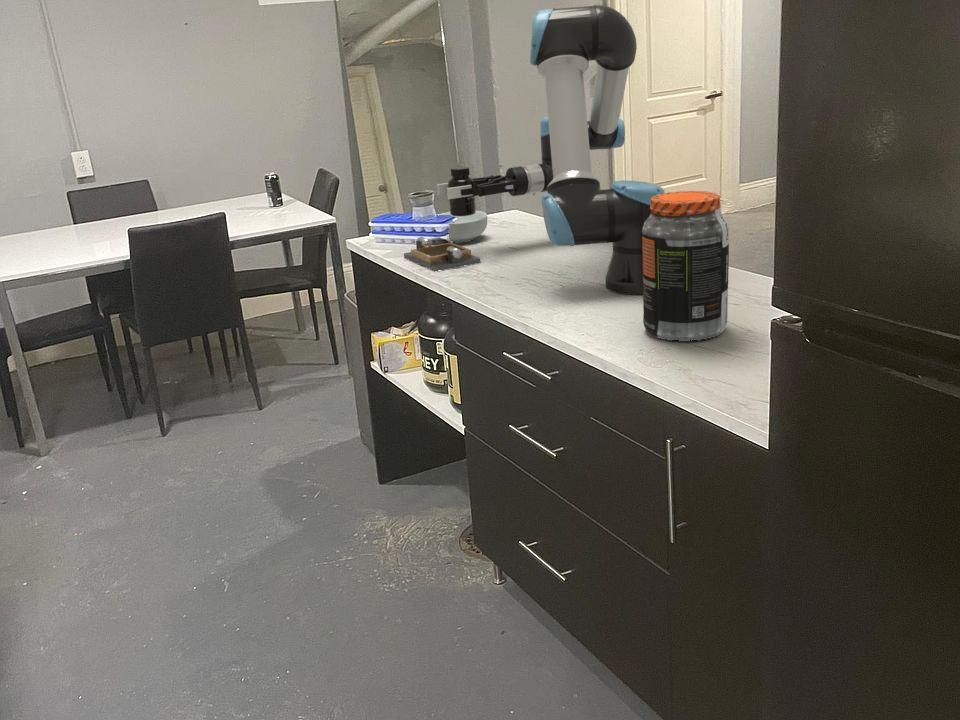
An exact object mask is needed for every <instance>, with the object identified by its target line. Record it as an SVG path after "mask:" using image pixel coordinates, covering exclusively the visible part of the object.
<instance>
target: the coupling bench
mask: <svg viewBox="0 0 960 720" xmlns="http://www.w3.org/2000/svg"><path fill="white" fill-rule="evenodd" d="M415 247H416V248H414V249H411V250H410V251H409V252H404V253H403V257H404V259H405V260H406V259H407V260H408V259H409V260H408V261H410V262H413V263H415V264H417V263H418V265H420V266H422V267H424V268H426V267H427V269H428V268H430V269H429V270H431V269H432V270H431V271H433V270H434V271H433V272H435V271H437V272H439V271H438V270H442V271H444V270H443V269H447V270H449V269H448V268H452V269H456V268H455V267H457V268H460V267H459V266H462V267H465V266H464V265H467V266H471V265H470V264H472V265H476V264H475V263H477V264H480V263H482V260H481V258H480V257H478V256H475V255H473V254H472V249H470V248H467V247H464V246H461V245H459V244H458V243H451V242H450V243H449V242H446V243H441V244H436V245H435V244H434V245H433V242H432V240H431V239H429V238H427V237H424V236H420V237H418V238H417V240H416V241H415Z"/></svg>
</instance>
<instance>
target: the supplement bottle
mask: <svg viewBox="0 0 960 720" xmlns="http://www.w3.org/2000/svg"><path fill="white" fill-rule="evenodd" d="M470 175H471V172H470V167H468V166H456V167H452V168H450V176H451V178H450V179H449V180H448V182H447V183H448V188H452V187H460V186H467V185H472V188H473V183H474V181H473V179H472V177H470ZM472 195H473V194H472ZM448 205H449V212H450V214H451V215H452V216H469V215H473V214H475V212H476V211H477V210H476V206H477V205H476V196H474V195H473V196H468V197H461V198H454V199H448Z"/></svg>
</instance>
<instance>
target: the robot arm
mask: <svg viewBox="0 0 960 720" xmlns="http://www.w3.org/2000/svg"><path fill="white" fill-rule="evenodd" d="M531 24H532V25H531V40H530V42H531V43H530V58H529V59H530V61H529V62H530V65H532V66H534V67H535V66H536V67H537V68H536V69H537V74H539V76H541V77H542V78H544V82H545V84H544V86H545V95H546V106H547V108H546V109H547V116H544V117H542V118H541V120H540V133H539V137H540V150H541V163H535V164H534V163H533V164H528V165H522V166H513V167H509V168H508V169H506V172H505V176H504V175H503V176H502V174H498V175H488V176H483V177H482V176H481V177H473V178H472V177H471V178H472V179H473V181H474V183H473V188H472V185H467V186H460V187H452V188H448V182H445V183H437V188H436V189H437V195H438V196H442V195H443V196H444V195H447V200H449V199H454V198H461V197H468V196H473V195H474V196H475V197H477V196H478V197H479V198H481V197H485V196H492V195H497V194H502V193H504V194H505V193H508V194H509V195H510V196H512V197H518V196H524V195H532V196H536V195H537V193H544V192H545V193H544V194H542V195H541V207H542V216H543V221H544V225H545V231H546V233H547V236H548V238H549V241H550V242H551V243H552V244H553V245H555V246H558V247H559V246H560V247H564V246H565V247H566V246H570V247H574V246H580V245H581V246H582V245H595V244H608V243H612V255H611V258H610V262H609V263H608V264H609V265H608V268H607V271H606V275H605V288H606V289H607V290H608V291H610V292H613V293H618V294H621V295H622V294H623V295H643V252H642V229H643V225H644V223H645V221H646V220H647V218H648V217H649V216H650V215H651V213H652V212H651V209H650V206H651V198H652V197H653V196H655V195H659V194H663V193H666V192H665V189H664V188H663V187H662V186H660V184H659V185H658V184H657V183H651V182H647V181H641V180H640V181H639V180H614V181H612V183H611V185H610V188H609V189H601V185H600V184H601V183H600V182H601V181H600V180H599V179H598V178H597V177H595V176H594V175H593V173H592V160H591V151H593V150H594V151H595V150H596V151H597V150H611V149H616V148H617V149H618V148H621V147H623V146H624V144H625V142H626V141H625V140H626V138H625V137H626V129H625V128H626V127H625V123H624V121H623V119H621V118H620V116H621V111H622V106H623V100H624V96H625V89H626V85H627V80H628V74H629V69H630V67H631V66H632V65H633V64H634V62H635V60H636V53H637V49H638V48H637V44H638V43H637V38H636V34H635V31H634V29H633V27H632V25H631V24H630V22H629V21H628V19H627V18H626V17H625V16H624V15H623V14H622V13H621V12H620V11H618V10H616V9H615V8H613V7H610V6H607V5H604V4H603V5H602V4H601V5H600V4H599V5H598V4H597V5H596V4H594V5H588V6H587V5H585V6H575V7H561V8H555V7H551V8H550V9H542V10H537V11H536V12H535V13H534V14H533V16H532V23H531ZM590 61H595V62H596V70H595V79H594V86H593V93H592V94H593V95H592V101H591V109H590V116H589V120H588V116H587V105H586V94H585V86H584V85H585V83H584V82H585V81H584V73H586V71H587V70H588V69H589V67H590ZM472 194H473V195H472Z"/></svg>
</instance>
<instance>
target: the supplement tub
mask: <svg viewBox="0 0 960 720" xmlns="http://www.w3.org/2000/svg"><path fill="white" fill-rule="evenodd" d="M720 196H721V195H720V194H718V193H716V192H712V191H702V190H684V191H683V190H681V191H670V192H665V193H663V194H659V195H655V196H653V197H652V198H651V206H650V209H651V212H652V213H651V215H650V216H649V217H648V218H647V220H646V221H645V223H644V225H643V229H642V252H643V294H642V299H643V302H642V303H643V306H642V307H643V315H642V316H643V320H642V323H643V326H644V328H645V330H646V331H647V333H649V334H650V335H651V336H652V337H655V338H657V339H660V338H661V340H665V339H667V340H666V341H672V340H679V341H678V342H693V341H692V340H697V341H702V340H701V339H705V340H707V339H706V338H710V337H713V338H715V337H714V336H716V335H717V336H719V335H720V333H721V334H722V333H723V332H724V331H725V329H726V328H727V325H728V314H729V312H728V311H729V310H728V309H729V308H728V305H729V269H730V267H729V265H730V264H729V258H730V227H729V223H728V220H727V219H726V217H725V216H724V214H723V212H722V209H721V197H720ZM717 336H716V337H717ZM710 339H711V338H710ZM690 340H691V341H690Z"/></svg>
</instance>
